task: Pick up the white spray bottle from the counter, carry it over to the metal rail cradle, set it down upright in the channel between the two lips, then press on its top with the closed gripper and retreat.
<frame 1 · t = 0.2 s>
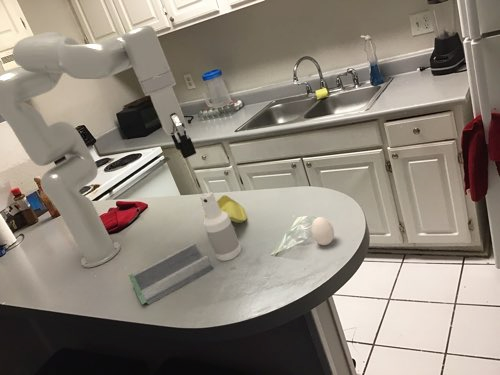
hand: (186, 151, 104), 30 cm above the counter, tool pointing down, fingers open, 9 cm apart
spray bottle: (229, 254, 115), on the counter
rail cradle: (174, 276, 113), on the counter
plastic component: (226, 227, 130), on the counter
egg: (326, 244, 105), on the counter
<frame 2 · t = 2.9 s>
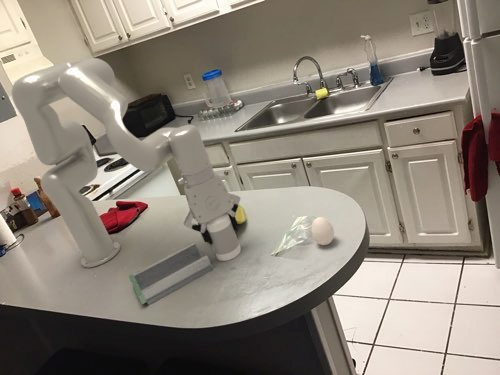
hand: (222, 235, 112), 6 cm above the counter, tool pointing down, fingers closed on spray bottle, 6 cm apart
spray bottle: (229, 254, 115), on the counter, touching gripper
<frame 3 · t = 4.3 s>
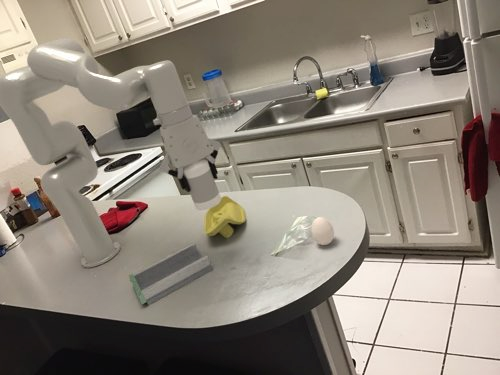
hand: (201, 183, 107), 21 cm above the counter, tool pointing down, fingers closed on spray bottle, 6 cm apart
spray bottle: (208, 204, 109), point 15 cm above the counter, touching gripper
everything else where it was.
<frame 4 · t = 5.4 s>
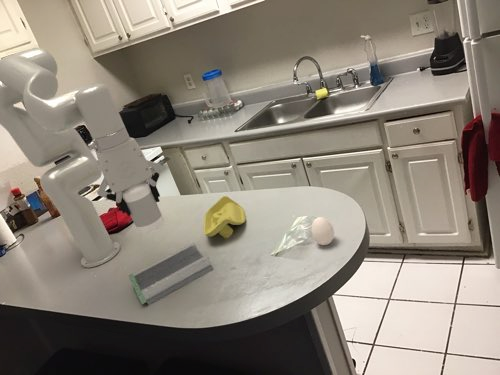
hand: (142, 206, 105), 21 cm above the counter, tool pointing down, fingers closed on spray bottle, 6 cm apart
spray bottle: (152, 227, 107), point 15 cm above the counter, touching gripper
everything else where it was.
when the fingers open (8 cm above the counter, at t = 8.4 s): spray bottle stays where it is, resting on rail cradle.
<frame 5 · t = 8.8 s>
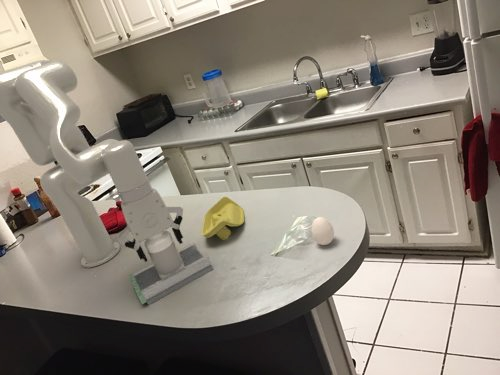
hand: (162, 250, 109), 8 cm above the counter, tool pointing down, fingers open, 9 cm apart
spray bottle: (173, 274, 112), point 1 cm above the counter, touching rail cradle
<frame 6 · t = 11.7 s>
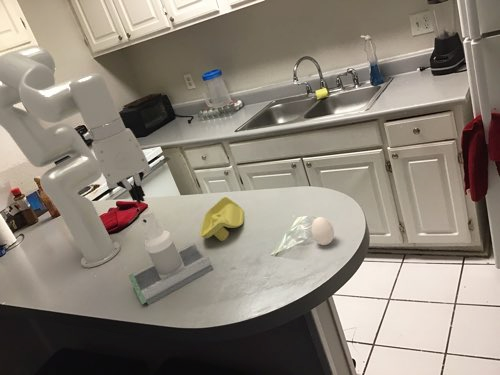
hand: (140, 200, 104), 23 cm above the counter, tool pointing down, fingers closed
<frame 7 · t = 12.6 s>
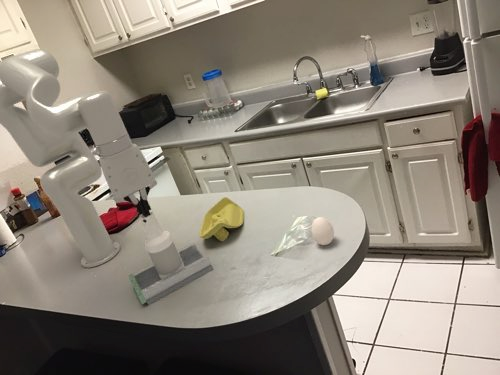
hand: (146, 214, 105), 19 cm above the counter, tool pointing down, fingers closed
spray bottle: (173, 274, 112), point 1 cm above the counter, touching gripper, rail cradle
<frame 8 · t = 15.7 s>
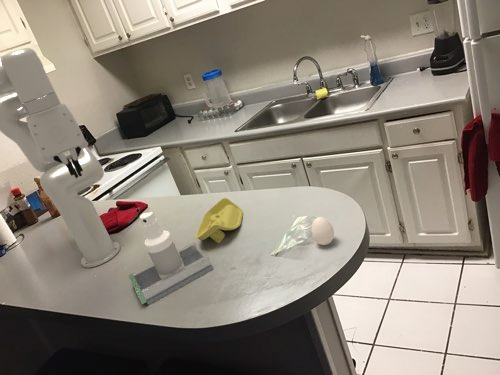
hand: (78, 175, 106), 32 cm above the counter, tool pointing down, fingers closed
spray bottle: (173, 274, 112), point 1 cm above the counter, touching rail cradle
at the end: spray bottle inside the target area on the rail cradle (0.1 cm from its centre), point 0.8 cm above the rail cradle's base; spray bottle tilted 0°; the gripper is holding nothing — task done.
